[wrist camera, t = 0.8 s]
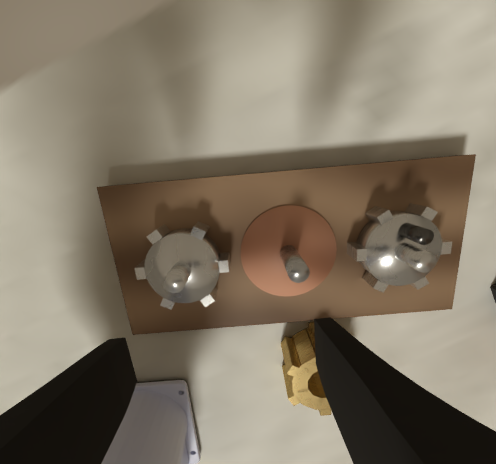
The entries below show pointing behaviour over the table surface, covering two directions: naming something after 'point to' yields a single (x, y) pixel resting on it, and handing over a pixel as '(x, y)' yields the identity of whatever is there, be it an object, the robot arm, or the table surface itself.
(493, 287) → the ammunition clip
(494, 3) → the table surface
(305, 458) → the table surface
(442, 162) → the gear board
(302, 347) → the wooden gear
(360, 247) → the mounted gears
